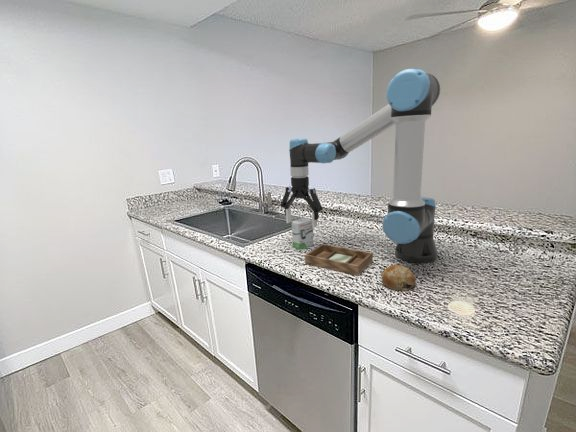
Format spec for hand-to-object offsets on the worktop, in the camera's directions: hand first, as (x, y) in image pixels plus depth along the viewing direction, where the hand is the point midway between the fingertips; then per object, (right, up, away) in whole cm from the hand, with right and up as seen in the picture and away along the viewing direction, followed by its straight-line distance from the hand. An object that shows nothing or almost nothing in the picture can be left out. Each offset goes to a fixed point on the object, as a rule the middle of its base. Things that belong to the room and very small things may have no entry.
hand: (301, 224), depth 133 cm
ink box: (+1, -10, +2) cm, 10 cm away
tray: (+13, -14, -17) cm, 26 cm away
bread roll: (+29, -18, -36) cm, 50 cm away
